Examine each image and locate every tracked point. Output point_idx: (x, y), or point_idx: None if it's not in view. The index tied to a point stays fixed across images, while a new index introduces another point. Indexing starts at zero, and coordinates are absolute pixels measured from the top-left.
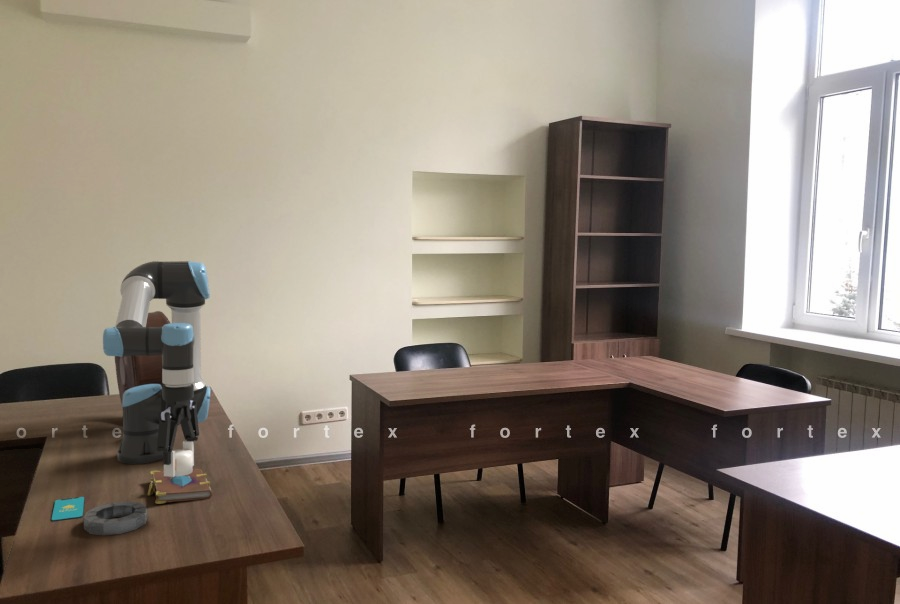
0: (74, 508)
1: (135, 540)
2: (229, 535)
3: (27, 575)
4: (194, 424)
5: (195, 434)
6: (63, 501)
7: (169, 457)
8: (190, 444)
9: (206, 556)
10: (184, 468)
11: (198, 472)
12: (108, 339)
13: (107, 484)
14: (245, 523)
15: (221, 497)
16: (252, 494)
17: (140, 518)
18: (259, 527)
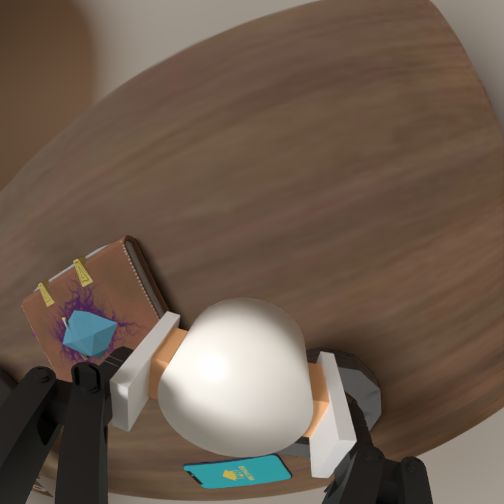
0: (237, 469)
1: (412, 331)
2: (398, 112)
3: (483, 410)
4: (20, 444)
5: (54, 391)
6: (208, 482)
7: (356, 429)
8: (134, 387)
9: (491, 151)
10: (294, 334)
11: (36, 304)
12: None
13: (116, 443)
14: (318, 83)
15: (127, 207)
16: (105, 131)
17: (341, 362)
18: (342, 47)
